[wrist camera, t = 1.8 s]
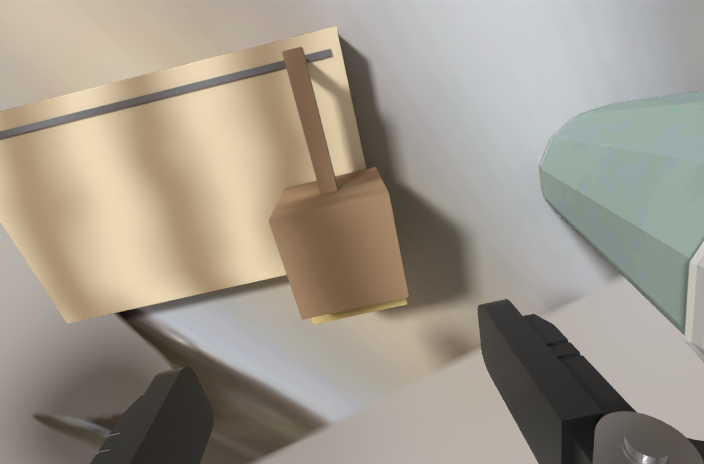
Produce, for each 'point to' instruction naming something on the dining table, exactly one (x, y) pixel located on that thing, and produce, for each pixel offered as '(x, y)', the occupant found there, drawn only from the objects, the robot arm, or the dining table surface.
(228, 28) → the dining table surface
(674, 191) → the disposable coffee cup
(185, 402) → the robot arm
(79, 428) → the dining table surface
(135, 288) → the board
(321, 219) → the brown block with handle
